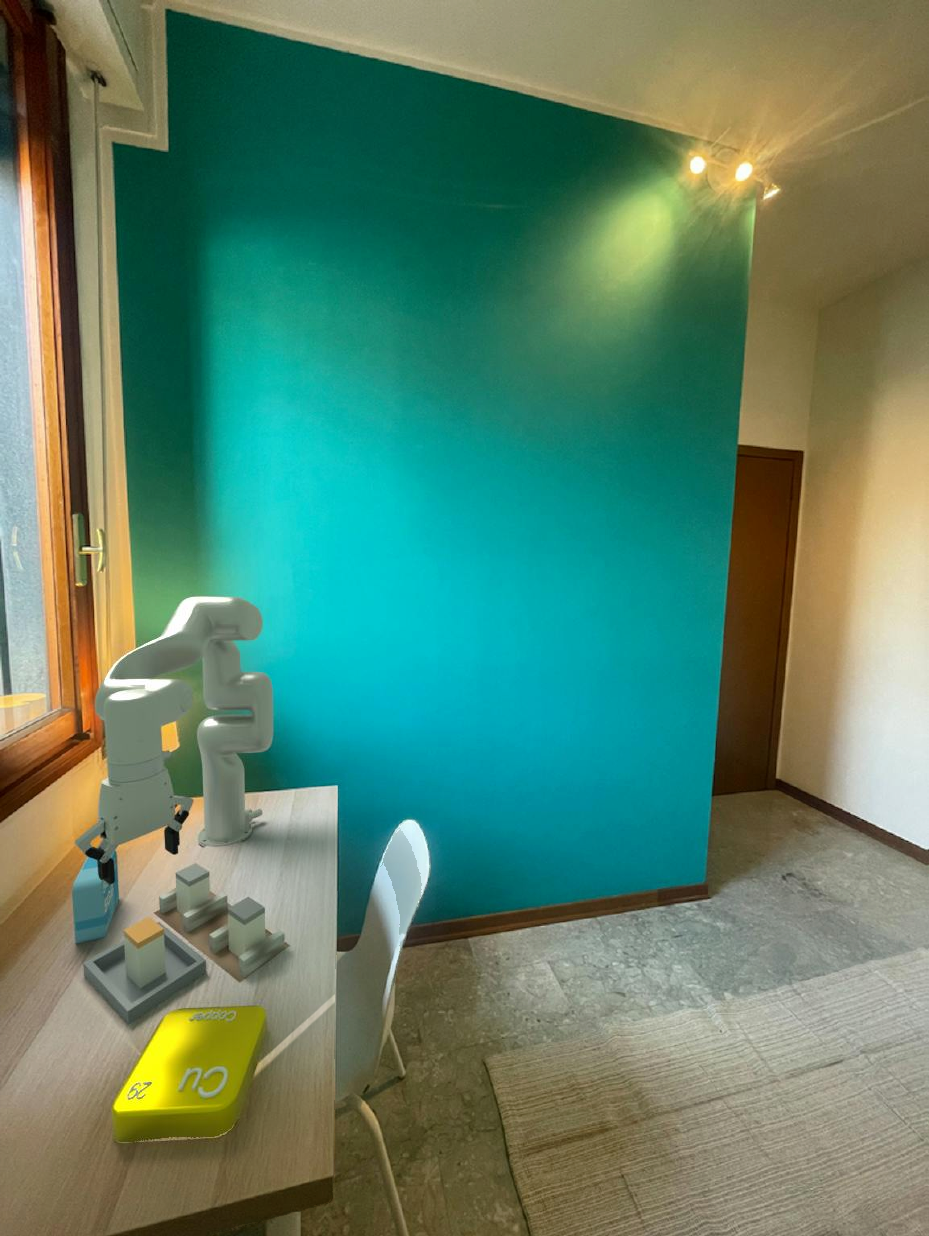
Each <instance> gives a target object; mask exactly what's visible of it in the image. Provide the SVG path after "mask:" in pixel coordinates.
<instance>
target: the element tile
mask: <svg viewBox="0 0 929 1236" xmlns="http://www.w3.org/2000/svg"><path fill="white" fill-rule="evenodd" d="M266 1036H267V1012H266V1009H265V1008H264V1007H263V1006H261V1005H238V1006H212V1007H211V1006H210V1007H209V1006H208V1007H185V1008H177V1009H174V1010H171V1011H169V1012H168V1013H167V1014H166V1015H165V1016H163V1017H162V1018H161V1020H160V1021H159V1023H158V1025H157V1026H156V1028H155V1029H154V1032H153V1033H152V1035H151V1037H150V1038H149V1040H148V1041H147V1044H146V1045H145V1047H144V1048H143V1050H142V1052H141V1054H140V1055H139V1057H138V1059H137V1061H136V1062H135V1063H134V1065H133V1067H132V1069H131V1070H130V1073H129V1074H128V1075H127V1076H126V1079H125V1081H124V1083H123V1084H122V1085H121V1087H120V1088H119V1091H118V1093H117V1094H116V1096H115V1098H114V1100H113V1101H112V1105H111V1109H110V1110H111V1127H112V1128H111V1129H112V1138H113V1137H114V1138H113V1140H114V1139H115V1140H117V1141H119V1142H135V1141H136V1142H137V1141H141V1140H142V1141H143V1140H144V1141H145V1140H147V1141H148V1140H149V1139H150V1140H152V1139H153V1140H154V1139H161V1138H169V1137H171V1138H172V1137H177V1138H178V1137H187V1138H188V1137H191V1138H192V1137H193V1138H196V1137H199V1138H200V1137H201V1138H202V1137H215V1136H219V1135H220V1134H223V1133H225V1132H227V1131H228V1130H229V1129H231V1128H232V1126H233V1125H234V1124H235V1123H236V1121H237V1120H238V1117H239V1115H240V1116H241V1114H240V1112H241V1113H242V1111H241V1109H242V1110H243V1108H244V1105H245V1102H246V1099H247V1097H246V1095H247V1096H248V1094H247V1092H248V1093H249V1091H250V1088H251V1085H252V1081H253V1079H254V1076H255V1072H256V1070H257V1067H258V1065H259V1063H257V1061H258V1059H259V1056H260V1053H261V1050H262V1047H263V1045H264V1042H265V1039H266ZM250 1084H251V1085H250ZM249 1087H250V1088H249ZM248 1090H249V1091H248ZM245 1098H246V1099H245ZM244 1101H245V1102H244ZM243 1104H244V1105H243ZM242 1107H243V1108H242ZM239 1118H240V1117H239ZM238 1121H239V1120H238Z"/></svg>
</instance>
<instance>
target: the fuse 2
mask: <svg viewBox="0 0 929 1236" xmlns="http://www.w3.org/2000/svg"><path fill="white" fill-rule="evenodd" d="M265 929H266V907H265V906H264V905H263V904H261V903H259V902H258V901H256V900H254V899H253V898H252V897H250V896H247V897H245V898H244V899H242V900H240V901H238V902H236V903H235V904H233V905H231V907H230V908H228V932H229V950H230V951H231V952H232V953H234V954H235V955H236V956H238V957H240V956H241V955H243V954H244V953H245V952H247V951H248V950H250V949H251V948H253V947H254V946H256V945H257V944H259V943H260V942H262V941H263V940H264V939H265Z"/></svg>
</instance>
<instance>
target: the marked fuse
mask: <svg viewBox="0 0 929 1236" xmlns="http://www.w3.org/2000/svg"><path fill="white" fill-rule="evenodd" d="M123 941H124V948H125V967H126V975H127V976H128V977H129V978H130V979H131V980H132V981H133V982H134V983H135V984H136V985H137V986H138V987H139V988H142V987H144V986H145V985H147V984H148V983H150V982H151V981H153V980H155V979H156V978H158V977H159V976H161V975H163V974H164V973H166V968H165V945H164V928H162V927H161V926H160V925H159V924H157V922H156V921H155V920H154V919H153V918H152V917H151V916H148V917H146V918H144V919H143V920H140V921H138V922H137V923H135V924H133V925H131V926H128V927H127V928H125V929H124V930H123Z"/></svg>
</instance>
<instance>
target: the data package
mask: <svg viewBox="0 0 929 1236" xmlns="http://www.w3.org/2000/svg"><path fill="white" fill-rule="evenodd" d="M111 858H112V859H113V860H114V870H115V882H114V883H113V884H111V885H109V884H108V883H107V882H106V881H104V880H101V879H100V878H99V876H98V864H97V860H95V859H93V858H90V857H88V856H87V857H86V858H85V861H84V862H83V864H82V867H81V868H80V870H79V872H78V875H77V876H76V878H75V880H74V881H73V885H72V889H71V890H72V891H71V896H72V897H71V899H72V900H71V901H72V916H73V928H74V942H75V943H76V944H80V943H85V942H89V941H93V940H98V939H102V938H105V937H106V935H107V933H108V930H109V928H110V924H111V922H112V919H113V917H114V913H115V911H116V908H117V905H118V902H119V900H120V890H119V873H118V872H119V871H118V867H119V866H118V853H117V850H115V851H114V853H113V854H112V856H111Z"/></svg>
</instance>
